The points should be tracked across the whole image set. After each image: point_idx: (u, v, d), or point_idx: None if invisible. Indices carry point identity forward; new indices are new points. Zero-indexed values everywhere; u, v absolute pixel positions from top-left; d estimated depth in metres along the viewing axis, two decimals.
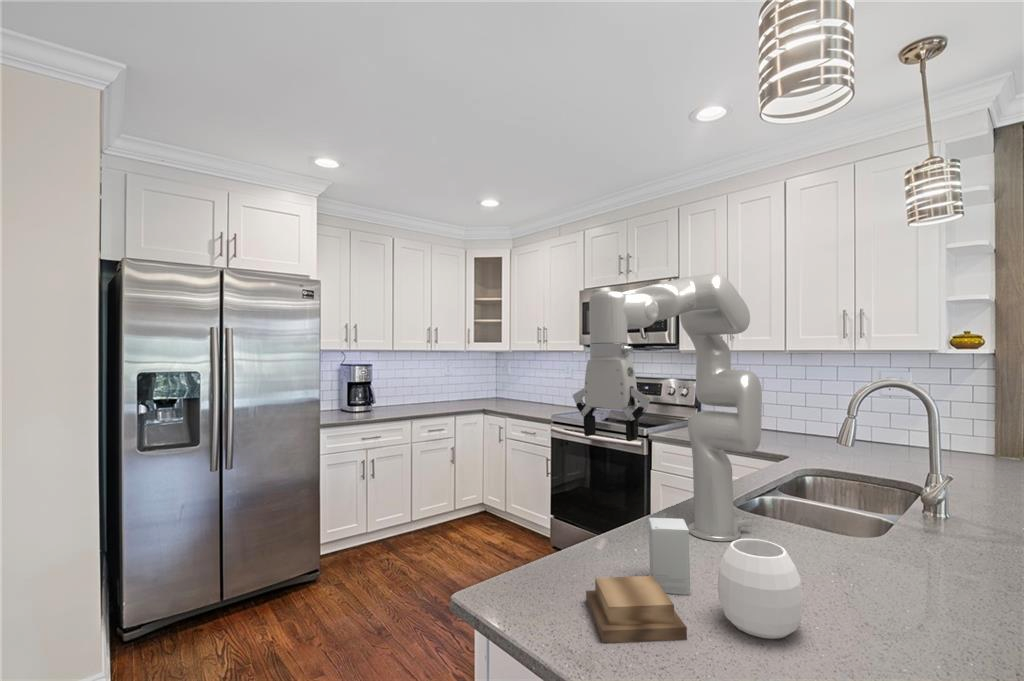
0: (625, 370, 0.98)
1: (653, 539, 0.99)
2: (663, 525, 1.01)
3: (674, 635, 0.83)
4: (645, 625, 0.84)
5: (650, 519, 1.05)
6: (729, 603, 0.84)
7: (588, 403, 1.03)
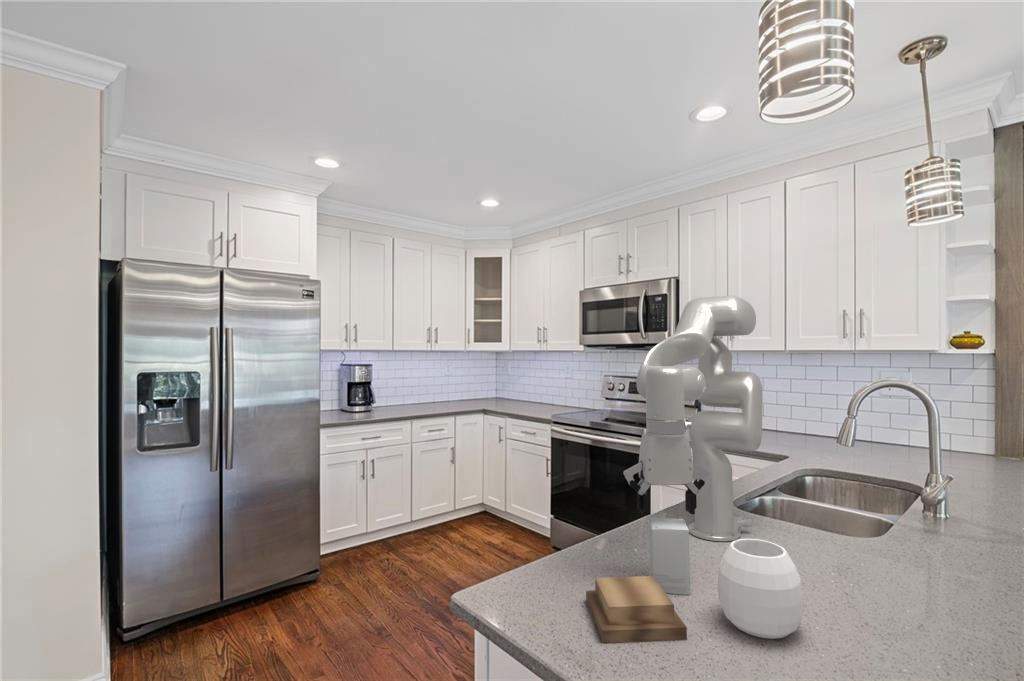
0: None
1: (653, 539, 0.99)
2: (663, 525, 1.01)
3: (674, 635, 0.83)
4: (645, 625, 0.84)
5: (650, 519, 1.05)
6: (729, 603, 0.84)
7: (651, 481, 1.00)
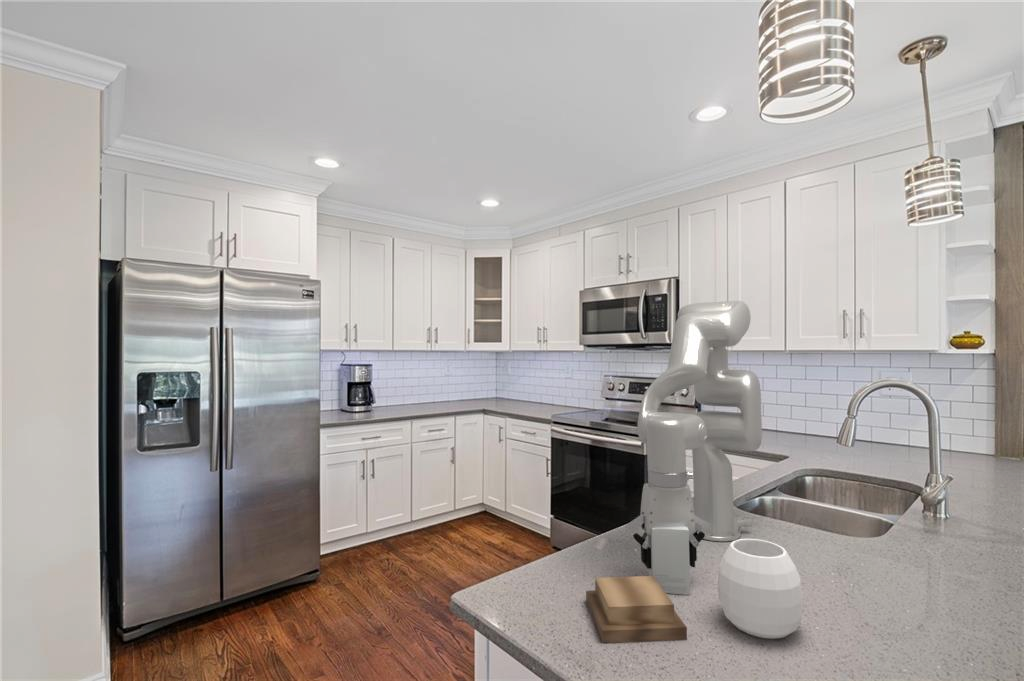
0: (691, 497, 1.01)
1: (653, 539, 0.99)
2: None
3: (674, 635, 0.83)
4: (645, 625, 0.84)
5: None
6: (729, 603, 0.84)
7: None
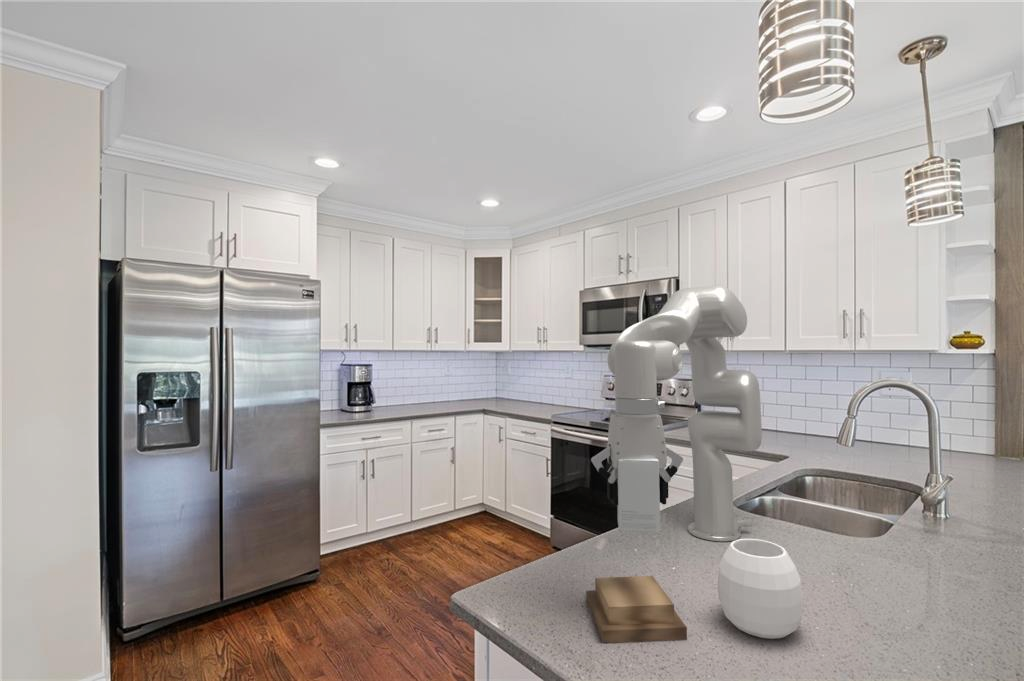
0: None
1: (620, 471, 0.90)
2: None
3: (674, 635, 0.83)
4: (645, 625, 0.84)
5: None
6: (729, 603, 0.84)
7: None
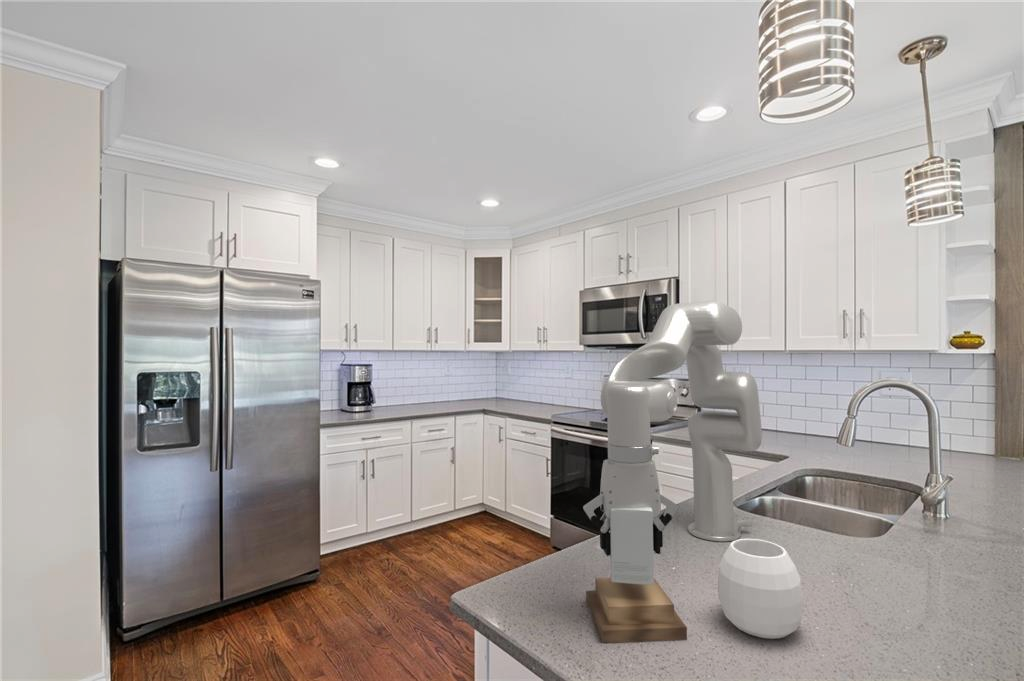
0: None
1: (612, 521, 0.87)
2: None
3: (674, 635, 0.83)
4: (645, 625, 0.84)
5: None
6: (729, 603, 0.84)
7: None
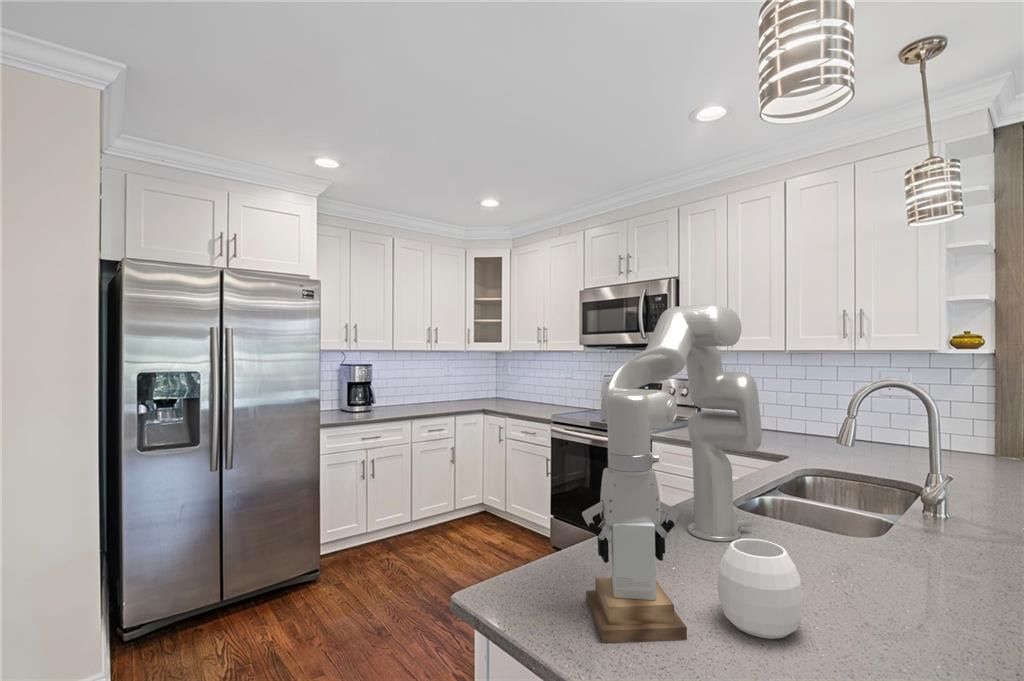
0: None
1: (614, 537, 0.87)
2: None
3: (674, 635, 0.83)
4: (645, 625, 0.84)
5: None
6: (729, 603, 0.84)
7: (612, 524, 0.88)
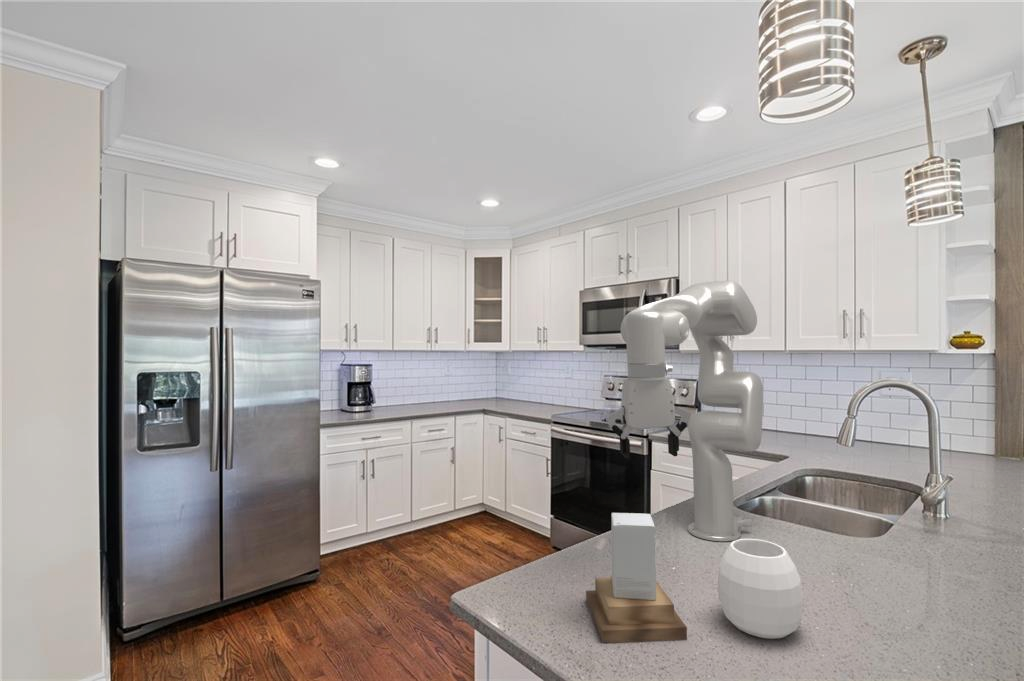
0: None
1: (614, 537, 0.87)
2: (626, 521, 0.89)
3: (674, 635, 0.83)
4: (645, 625, 0.84)
5: (613, 514, 0.93)
6: (729, 603, 0.84)
7: (633, 425, 1.00)
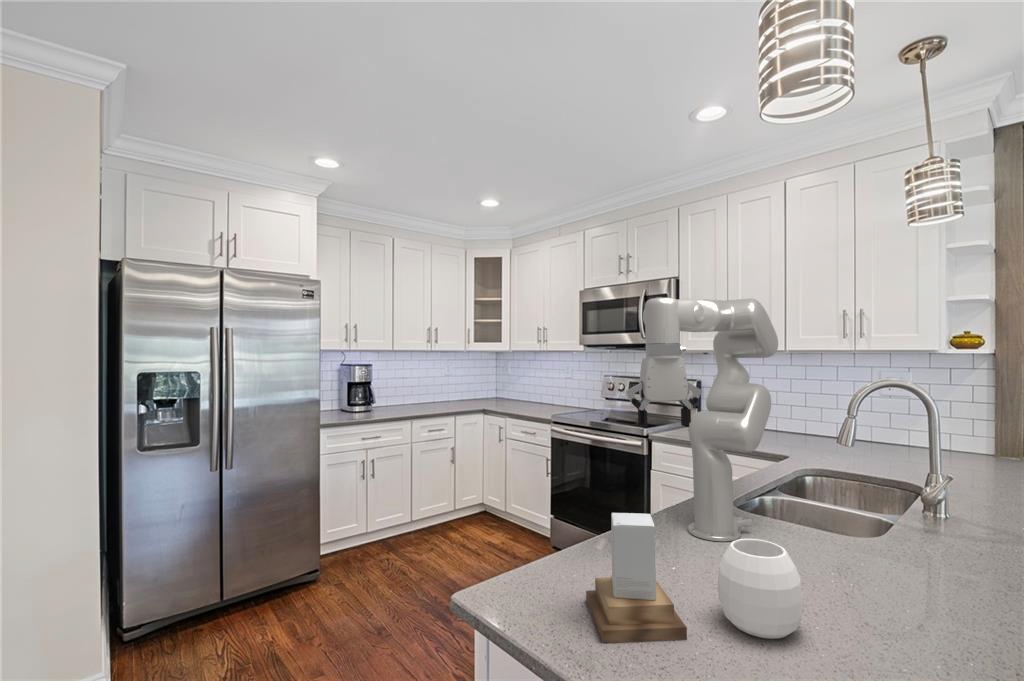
0: (684, 367, 1.14)
1: (614, 537, 0.87)
2: (626, 521, 0.89)
3: (674, 635, 0.83)
4: (645, 625, 0.84)
5: (613, 514, 0.93)
6: (729, 603, 0.84)
7: (650, 397, 1.13)
